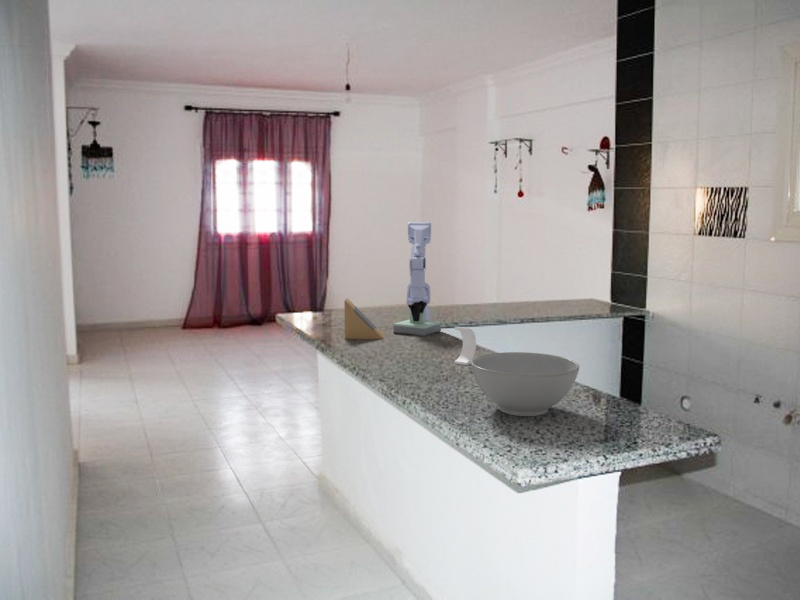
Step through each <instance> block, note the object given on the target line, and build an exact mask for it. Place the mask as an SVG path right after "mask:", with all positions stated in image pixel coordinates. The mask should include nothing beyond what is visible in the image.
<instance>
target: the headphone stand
mask: <svg viewBox="0 0 800 600" xmlns="http://www.w3.org/2000/svg"><path fill="white" fill-rule="evenodd" d="M454 330H456V331H458V332H460V335H461V337H462V347H461V352H460V354H459V357H458V358H457V359H456V360H454V363H453V364H454V365H455V364H456V365H461V366H469V365H471V361H472V359H474V358H475V357H474V356H475V354H476V350H477V338H476V335H475V332H474V330H473V329H471V328H469V327H463V326H462V327H461V326H454Z"/></svg>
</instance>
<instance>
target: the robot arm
mask: <svg viewBox="0 0 800 600" xmlns="http://www.w3.org/2000/svg"><path fill="white" fill-rule="evenodd" d="M407 236H408V242H409V244H412V247H411V249H410V250H411V251H410V259H409V264H408V266H409V267H408V268H409V276H410V283H409V284H408V285H407V289H406V305H407V306H408V308H409V313H410V312H411V313H412V317H413V321H419V316H420V313H425V320H427V321H432V320H431V314H432V313H431V312H432V311H431V307H430V305H429V304H431V286H430V284H429V283H427V282H426V270H427V258H426V246H427V245H428V244H429V243H431V240H432V223H431V221H408V223H407Z"/></svg>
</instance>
